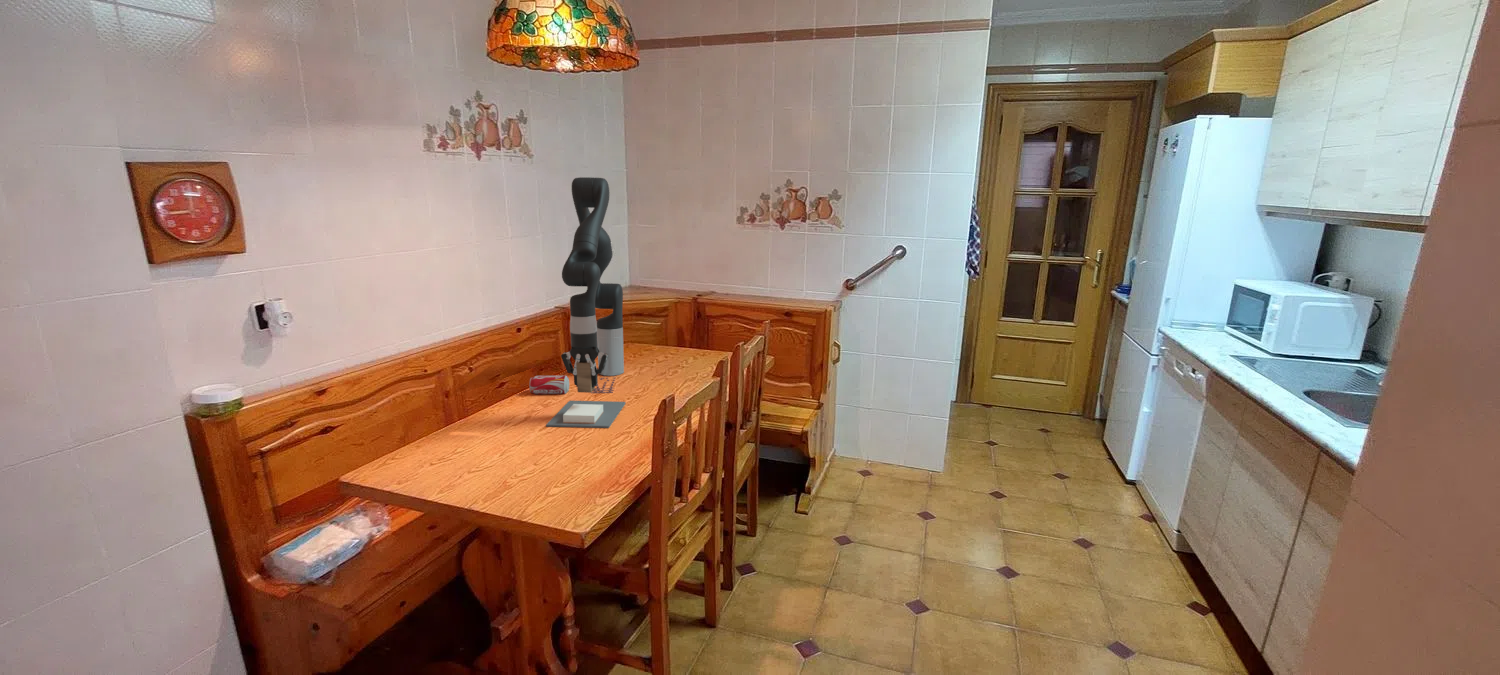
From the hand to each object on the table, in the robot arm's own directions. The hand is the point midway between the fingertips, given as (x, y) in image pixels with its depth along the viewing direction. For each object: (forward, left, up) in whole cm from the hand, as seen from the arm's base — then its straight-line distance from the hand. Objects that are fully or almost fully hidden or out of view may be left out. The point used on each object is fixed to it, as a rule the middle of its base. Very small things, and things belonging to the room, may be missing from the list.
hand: (586, 386), depth 181 cm
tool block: (0, 0, -1) cm, 1 cm away
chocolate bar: (-30, -2, -10) cm, 32 cm away
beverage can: (-21, -12, -6) cm, 25 cm away
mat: (-1, 0, -9) cm, 9 cm away
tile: (-2, 0, -7) cm, 8 cm away
